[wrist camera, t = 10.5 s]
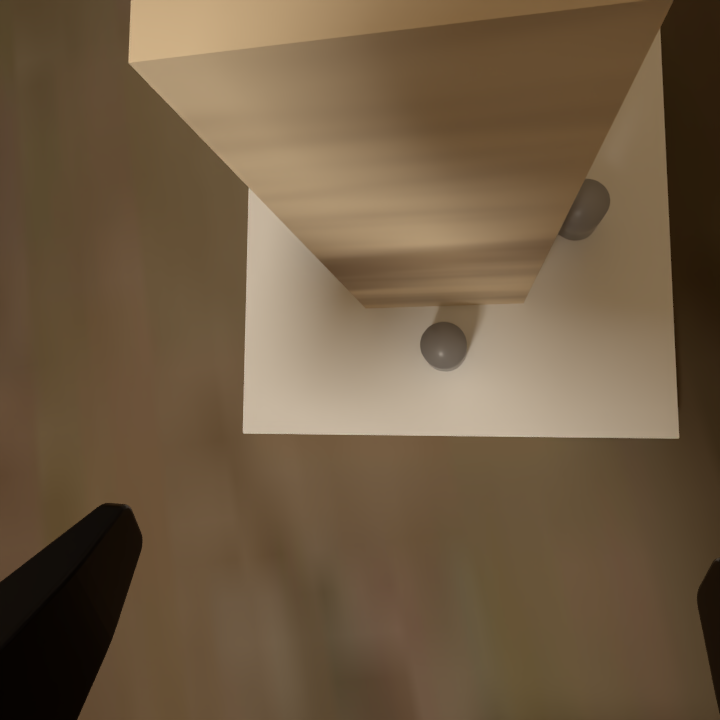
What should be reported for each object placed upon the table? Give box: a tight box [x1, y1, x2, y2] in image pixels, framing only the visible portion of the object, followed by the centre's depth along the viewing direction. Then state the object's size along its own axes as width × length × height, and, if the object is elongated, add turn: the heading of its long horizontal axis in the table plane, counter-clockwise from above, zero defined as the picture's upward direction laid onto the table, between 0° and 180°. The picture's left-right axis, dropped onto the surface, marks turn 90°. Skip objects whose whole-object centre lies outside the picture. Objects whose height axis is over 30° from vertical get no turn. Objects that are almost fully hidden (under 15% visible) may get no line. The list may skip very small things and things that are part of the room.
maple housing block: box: [128, 0, 674, 308], centre depth 13 cm, size 5×5×14 cm
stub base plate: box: [243, 29, 679, 439], centre depth 19 cm, size 14×14×3 cm
